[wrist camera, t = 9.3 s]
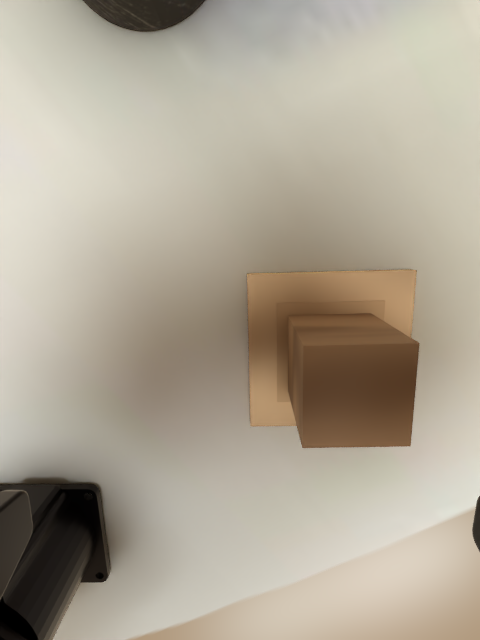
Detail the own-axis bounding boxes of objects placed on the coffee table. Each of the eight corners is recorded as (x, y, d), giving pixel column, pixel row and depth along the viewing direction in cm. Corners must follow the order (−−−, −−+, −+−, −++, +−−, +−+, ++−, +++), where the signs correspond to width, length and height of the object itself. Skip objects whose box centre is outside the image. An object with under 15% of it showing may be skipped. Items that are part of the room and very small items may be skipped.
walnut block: (366, 389, 18) (410, 446, 13) (287, 391, 18) (302, 447, 13) (370, 313, 17) (419, 343, 12) (287, 315, 17) (303, 346, 12)
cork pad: (398, 418, 19) (404, 425, 18) (250, 420, 19) (250, 426, 19) (411, 269, 17) (417, 270, 17) (247, 273, 18) (247, 274, 17)
